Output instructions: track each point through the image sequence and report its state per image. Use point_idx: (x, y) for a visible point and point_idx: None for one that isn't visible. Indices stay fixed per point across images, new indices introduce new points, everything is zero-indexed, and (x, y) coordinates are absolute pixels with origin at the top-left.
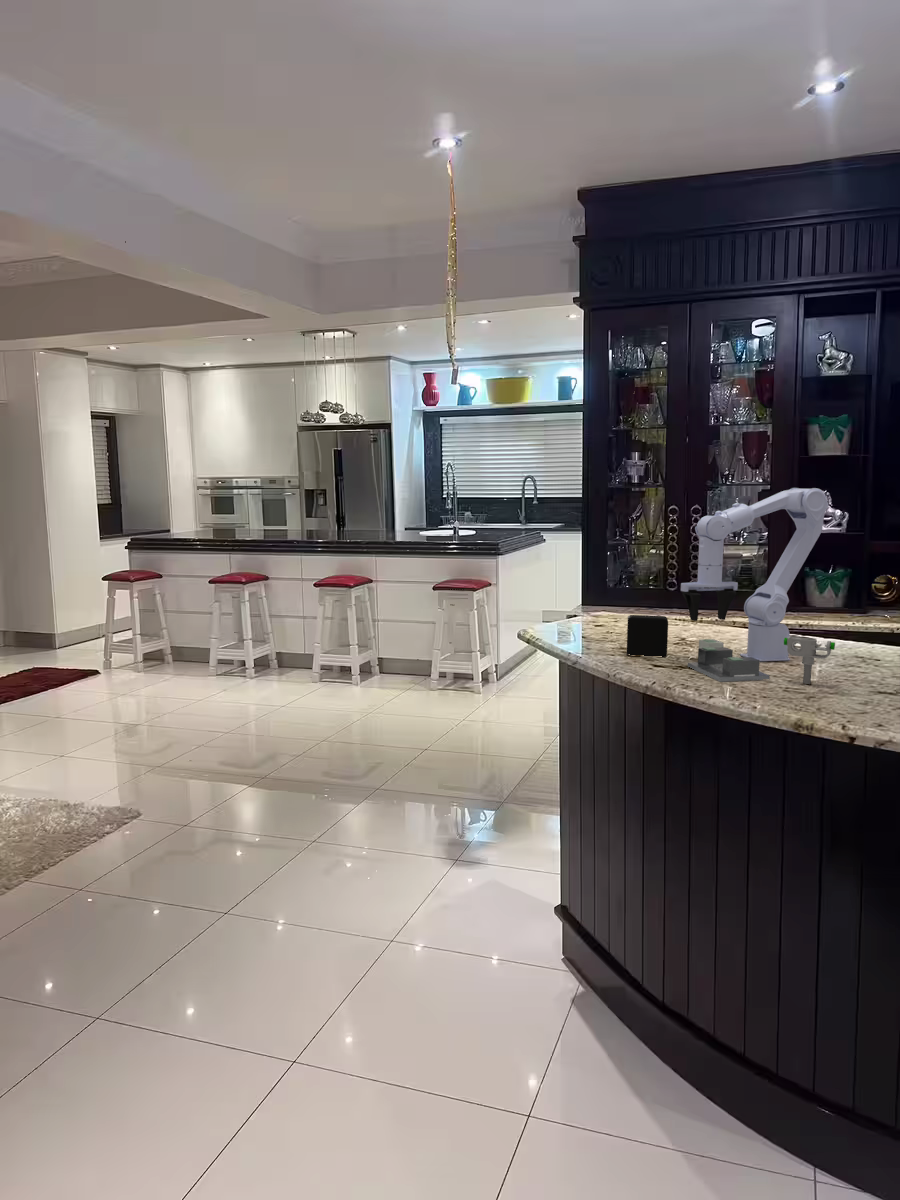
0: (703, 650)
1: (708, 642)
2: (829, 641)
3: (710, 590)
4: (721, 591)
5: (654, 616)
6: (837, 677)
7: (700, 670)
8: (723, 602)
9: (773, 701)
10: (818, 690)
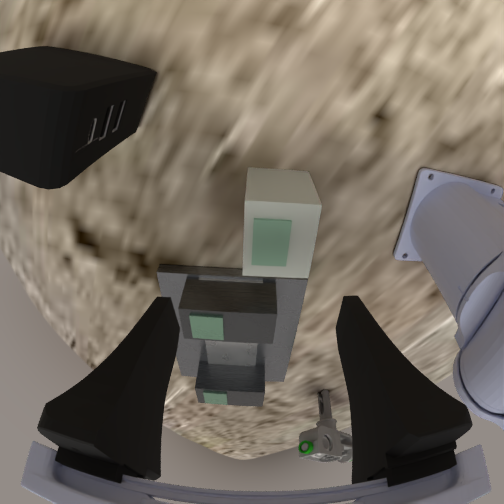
0: (182, 330)
1: (249, 265)
2: (344, 462)
3: (259, 494)
4: (379, 466)
5: (4, 110)
6: None
7: None
8: (359, 409)
9: (211, 422)
10: (307, 409)
